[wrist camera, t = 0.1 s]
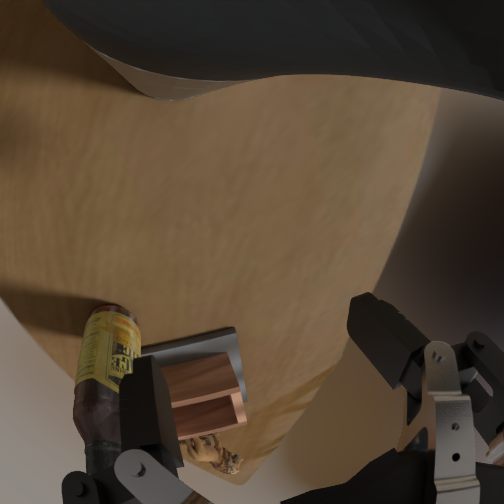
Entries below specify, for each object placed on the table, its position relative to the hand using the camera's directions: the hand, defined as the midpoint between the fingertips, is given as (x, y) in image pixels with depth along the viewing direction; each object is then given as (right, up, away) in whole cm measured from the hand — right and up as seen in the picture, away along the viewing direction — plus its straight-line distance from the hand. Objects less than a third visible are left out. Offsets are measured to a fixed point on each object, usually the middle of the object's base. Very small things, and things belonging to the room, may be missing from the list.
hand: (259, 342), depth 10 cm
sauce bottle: (-16, -4, +18) cm, 24 cm away
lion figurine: (-9, -30, +35) cm, 47 cm away
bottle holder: (-9, -14, +26) cm, 31 cm away
